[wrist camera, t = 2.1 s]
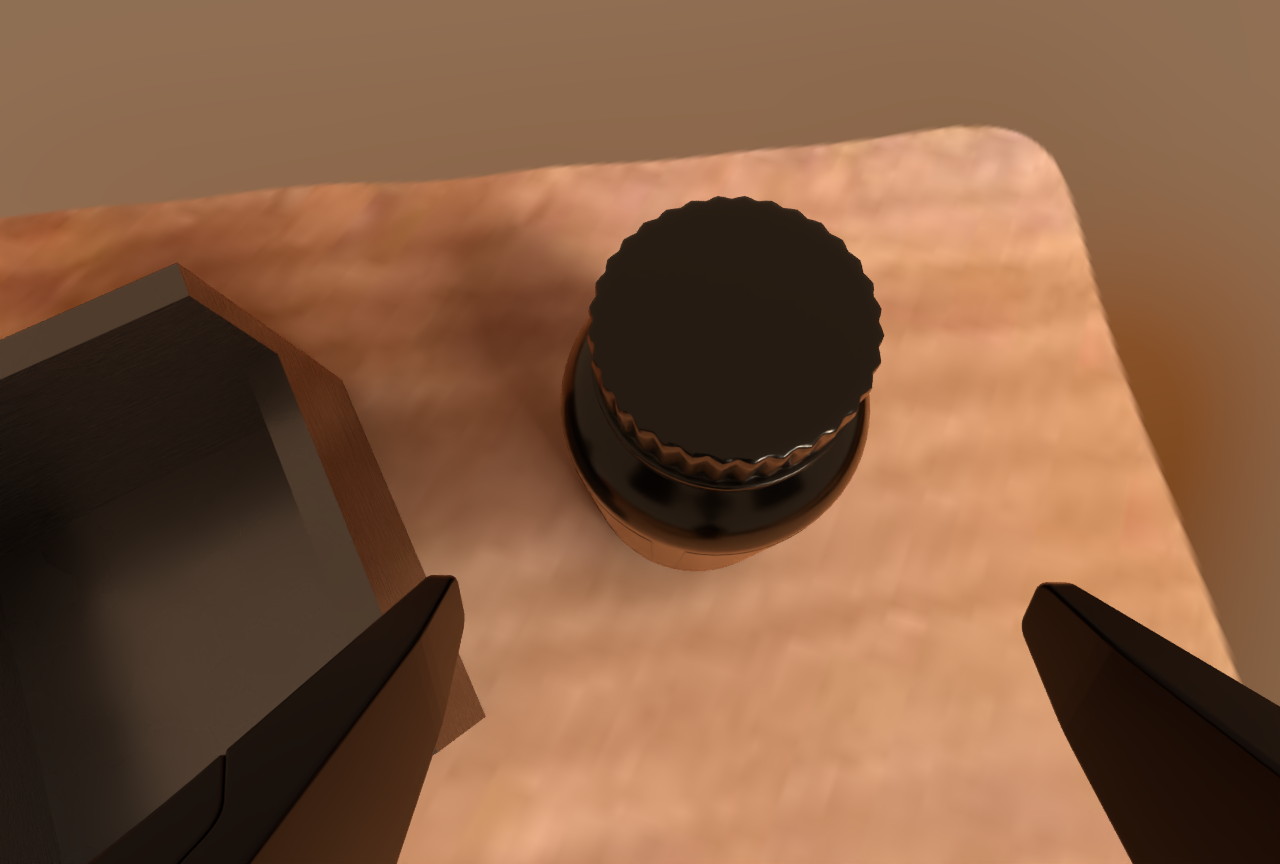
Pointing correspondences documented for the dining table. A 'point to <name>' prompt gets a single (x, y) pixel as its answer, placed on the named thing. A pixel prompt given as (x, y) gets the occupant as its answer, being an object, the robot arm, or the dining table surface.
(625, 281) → the supplement bottle
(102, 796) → the condiment caddy
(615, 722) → the dining table surface
